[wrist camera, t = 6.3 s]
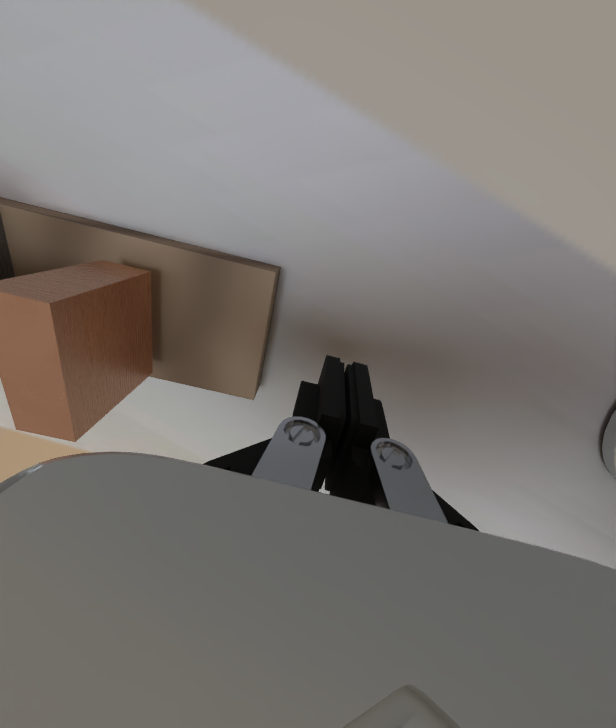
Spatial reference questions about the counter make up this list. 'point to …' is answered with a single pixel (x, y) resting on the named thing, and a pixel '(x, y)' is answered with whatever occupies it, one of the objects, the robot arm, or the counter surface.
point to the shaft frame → (162, 292)
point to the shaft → (73, 344)
